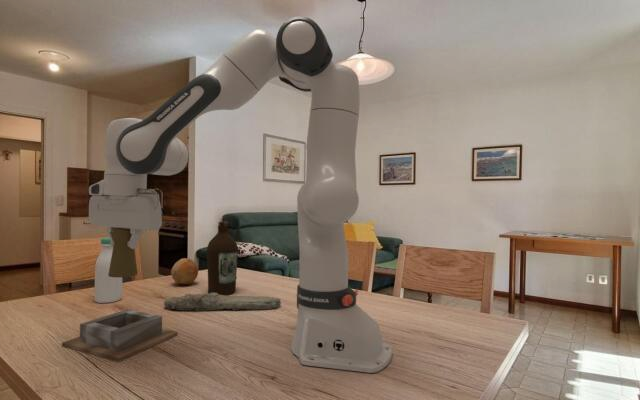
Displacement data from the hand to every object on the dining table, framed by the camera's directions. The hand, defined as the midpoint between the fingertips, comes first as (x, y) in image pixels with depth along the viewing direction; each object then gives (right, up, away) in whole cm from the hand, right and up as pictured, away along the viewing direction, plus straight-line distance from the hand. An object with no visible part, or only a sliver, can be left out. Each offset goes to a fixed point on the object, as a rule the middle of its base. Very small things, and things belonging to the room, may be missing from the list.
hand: (124, 247), depth 85 cm
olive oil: (+11, -22, +44) cm, 50 cm away
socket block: (0, -22, 0) cm, 22 cm away
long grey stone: (+16, -22, +27) cm, 39 cm away
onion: (-6, -22, +55) cm, 59 cm away
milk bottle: (-22, -21, +32) cm, 45 cm away
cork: (0, -7, 0) cm, 6 cm away
